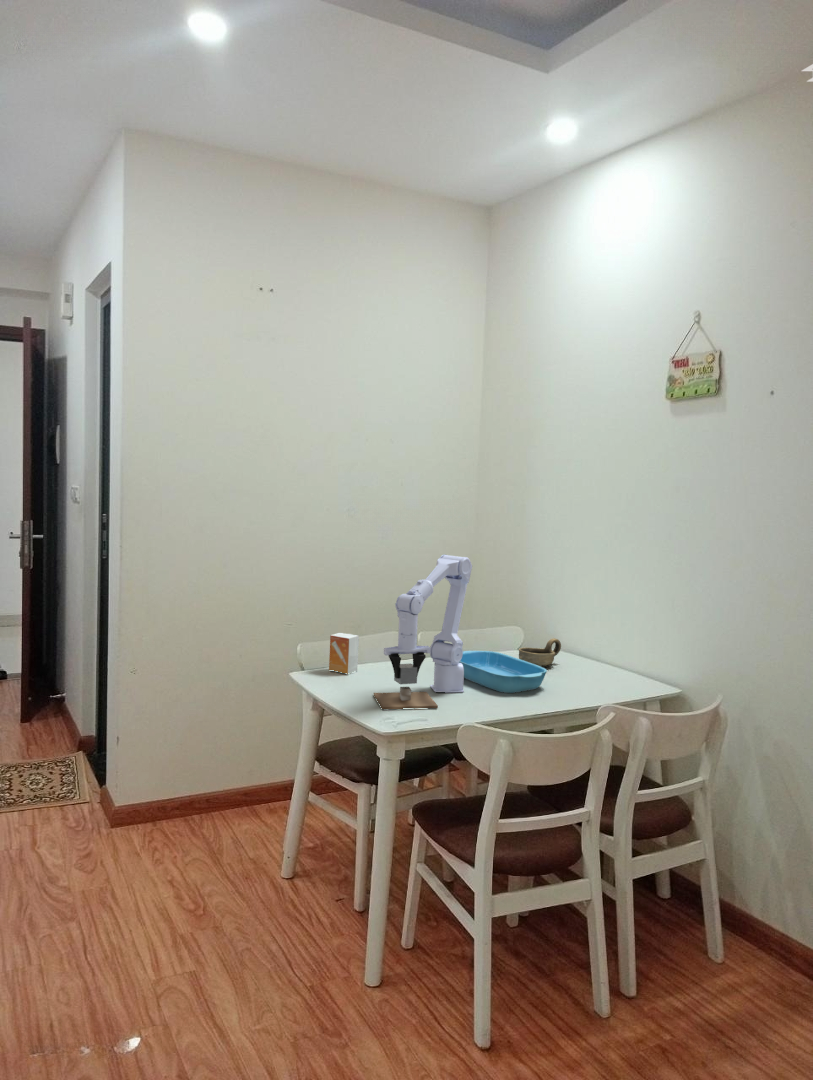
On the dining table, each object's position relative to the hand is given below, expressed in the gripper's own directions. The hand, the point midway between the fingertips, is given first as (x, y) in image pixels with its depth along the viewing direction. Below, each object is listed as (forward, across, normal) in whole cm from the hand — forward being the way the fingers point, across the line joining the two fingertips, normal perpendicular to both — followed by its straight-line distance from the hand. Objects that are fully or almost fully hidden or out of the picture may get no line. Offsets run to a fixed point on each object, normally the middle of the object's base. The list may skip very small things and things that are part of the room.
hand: (405, 677), depth 248 cm
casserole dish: (+8, -40, -16) cm, 44 cm away
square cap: (+2, 0, 0) cm, 2 cm away
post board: (+8, 0, 0) cm, 8 cm away
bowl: (+8, -67, -33) cm, 75 cm away
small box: (+8, +8, -40) cm, 41 cm away
